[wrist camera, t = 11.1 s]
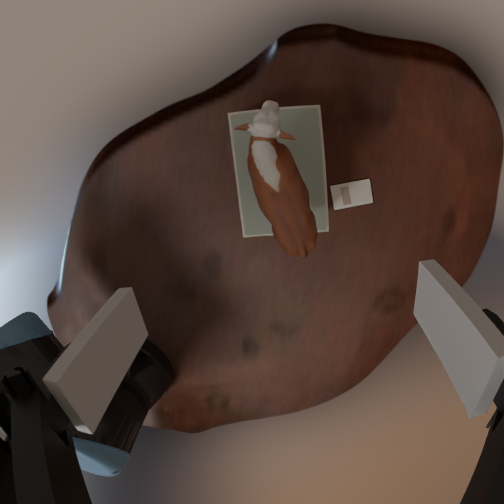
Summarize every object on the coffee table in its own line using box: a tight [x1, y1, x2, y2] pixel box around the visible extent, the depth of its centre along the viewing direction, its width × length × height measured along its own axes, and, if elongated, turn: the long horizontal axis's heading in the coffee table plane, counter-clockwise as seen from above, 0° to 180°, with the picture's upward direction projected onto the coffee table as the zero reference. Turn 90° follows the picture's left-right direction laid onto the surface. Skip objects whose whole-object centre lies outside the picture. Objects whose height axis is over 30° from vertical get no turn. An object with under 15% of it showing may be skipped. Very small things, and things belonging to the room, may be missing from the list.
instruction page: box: [330, 179, 373, 210], centre depth 36 cm, size 5×3×1 cm, turn 104°
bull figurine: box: [234, 100, 317, 259], centre depth 26 cm, size 4×13×8 cm, turn 16°
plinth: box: [228, 105, 329, 237], centre depth 32 cm, size 9×13×6 cm
